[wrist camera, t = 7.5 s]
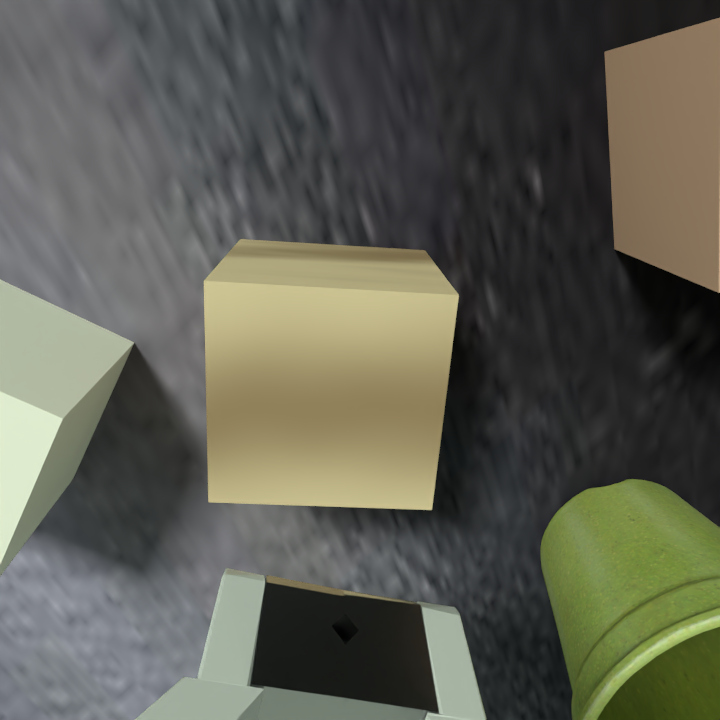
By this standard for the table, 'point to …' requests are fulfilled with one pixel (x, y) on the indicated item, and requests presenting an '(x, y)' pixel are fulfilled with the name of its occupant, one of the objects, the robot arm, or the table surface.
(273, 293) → the oak block
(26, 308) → the dot block cream
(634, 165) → the dot block tan
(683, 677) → the plant pot
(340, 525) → the table surface
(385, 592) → the table surface
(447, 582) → the table surface
